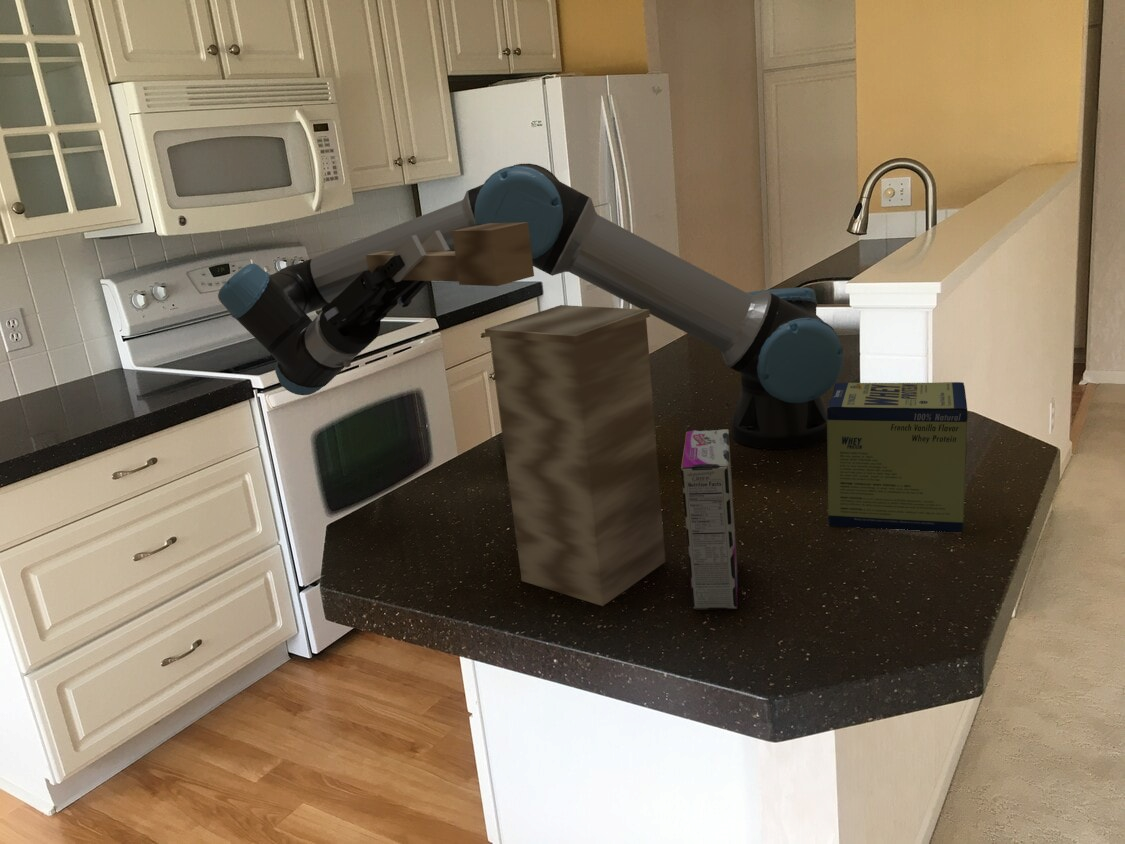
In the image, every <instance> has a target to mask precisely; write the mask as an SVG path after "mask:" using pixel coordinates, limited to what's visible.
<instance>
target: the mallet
mask: <svg viewBox="0 0 1125 844" xmlns="http://www.w3.org/2000/svg"><path fill="white" fill-rule="evenodd" d="M452 234H453V242H454V249H455V251H425V253H426V254H427V255H426V256H425V257H424V258H423V259H422V260H421V261H420V262H419V263H418V264H417V265H416V266H415V267H414V268H413V269H412V270H411V271H410V272H409V273H408V274H407V275H406V276H405V277H404V278H403V279H402V280H417V281H429V282H446V283H449V282H452V283H458V284H459V285H460V286H461V285H462V286H483V287H484V286H485V287H487V286H488V287H498V286H499V287H501V286H503V285H507V284H510V283H514V282H517V281H522V280H525V279H528V278H533V277H535V272H534V271H535V270H534V266H533V261H532V252H531V243H530V234H529V225H528V222H521V223H489V224H484V225H479V226H474V227H469V228H464V229H459V230H454V231H452ZM395 252H396V251H383V252H378V253H373V254H368V255H366V259H367V265H368V270H370V272H371V273H373V271H374V270H375V269H376V267H378V266H381V265H385V263H386V262H387V261H388V260H389V259H390V258H391V256H392V255H393V254H394V253H395ZM391 280H394V279H393V278H392V279H391Z"/></svg>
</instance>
